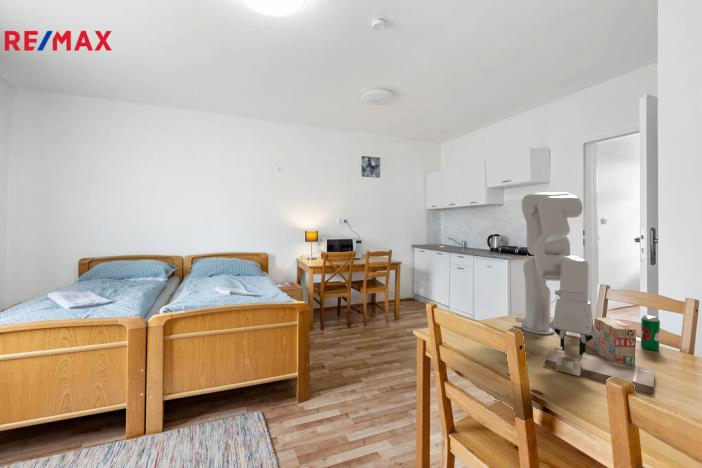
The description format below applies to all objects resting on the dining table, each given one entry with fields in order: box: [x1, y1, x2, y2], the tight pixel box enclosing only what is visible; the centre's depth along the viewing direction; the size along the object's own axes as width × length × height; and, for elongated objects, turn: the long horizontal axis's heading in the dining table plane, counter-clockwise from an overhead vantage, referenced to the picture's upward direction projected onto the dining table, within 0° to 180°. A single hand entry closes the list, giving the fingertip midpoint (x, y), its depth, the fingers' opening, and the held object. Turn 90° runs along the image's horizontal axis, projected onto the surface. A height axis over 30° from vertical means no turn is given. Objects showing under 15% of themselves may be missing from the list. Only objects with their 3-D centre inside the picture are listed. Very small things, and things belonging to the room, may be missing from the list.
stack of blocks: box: [586, 317, 637, 366], centre depth 116 cm, size 21×6×12 cm, turn 170°
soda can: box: [640, 314, 661, 352], centre depth 118 cm, size 5×5×12 cm
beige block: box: [555, 331, 582, 377], centre depth 104 cm, size 6×15×10 cm, turn 135°
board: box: [545, 347, 656, 395], centre depth 102 cm, size 26×14×2 cm, turn 45°
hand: (573, 351), depth 104 cm, fingers closed on beige block, 4 cm apart
